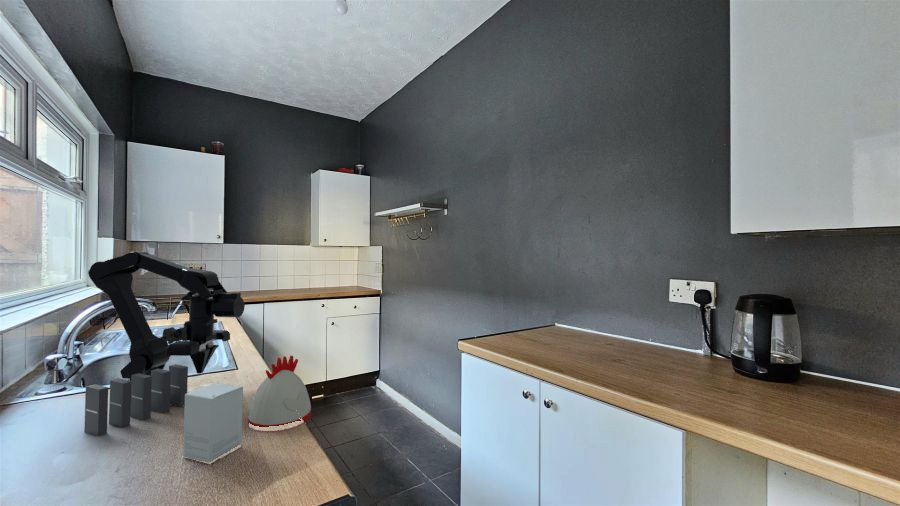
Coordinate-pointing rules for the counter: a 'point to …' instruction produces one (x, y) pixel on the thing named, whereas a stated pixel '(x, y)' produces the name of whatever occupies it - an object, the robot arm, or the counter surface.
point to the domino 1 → (96, 409)
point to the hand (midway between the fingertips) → (199, 373)
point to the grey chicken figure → (280, 397)
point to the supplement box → (212, 421)
